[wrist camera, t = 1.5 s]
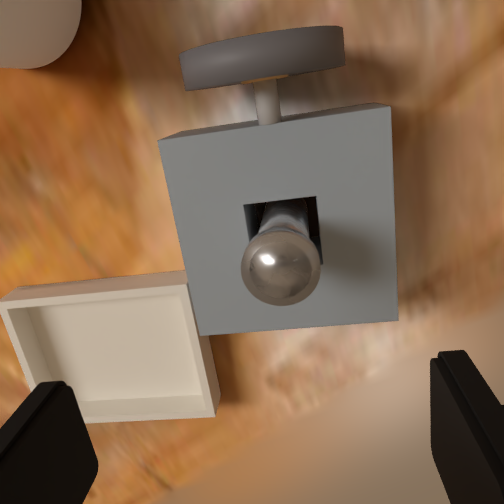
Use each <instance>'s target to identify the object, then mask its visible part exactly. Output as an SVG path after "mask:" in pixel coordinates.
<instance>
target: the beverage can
mask: <svg viewBox="0 0 504 504" xmlns="http://www.w3.org/2000/svg"><path fill="white" fill-rule="evenodd" d="M81 5H82V3H81V0H0V67H1V68H18V69H32V68H38V67H42V66H45V65H47V64H49V63H51V62H53V61H55V60H56V59H57V58H59V57H60V56H61V55H62V54H63V53H64V52H65V51H66V50H67V48H68V47H69V46H70V44H71V43H72V41H73V39H74V37H75V35H76V32H77V29H78V26H79V22H80V17H81Z"/></svg>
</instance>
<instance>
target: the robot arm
mask: <svg viewBox="0 0 504 504" xmlns="http://www.w3.org/2000/svg"><path fill="white" fill-rule="evenodd" d="M430 396H431V397H430V403H431V404H430V406H431V450H432V455H433V458H434V461H435V464H436V467H437V469H438V472H439V474H440V477H441V480H442V482H443V485H444V487H445V490H446V493H447V495H448V498H449V500H450V503H451V504H504V405H501V404H500V402H499V401H498V399H497V398H496V397H495V395H494V394H493V392H492V390H491V389H490V387H489V386H488V384H487V383H486V381H485V380H484V378H483V377H482V375H481V374H480V372H479V371H478V369H477V368H476V366H475V365H474V363H473V362H472V360H471V359H470V357H469V356H468V354H467V353H466V352H465V351H464V350H455V351H443V352H439V353H438V358H432V359H431V361H430ZM97 472H98V460H97V457H96V454H95V451H94V448H93V446H92V443H91V440H90V437H89V434H88V431H87V428H86V426H85V423H84V420H83V417H82V414H81V411H80V409H79V406H78V403H77V400H76V397H75V394H74V391H73V389H72V387H71V386H67V384H66V383H65V382H64V381H48V382H41V383H39V384H38V385H37V386H36V387H35V388H34V390H33V391H32V392H31V393H30V394H29V396H28V397H27V398H26V399H25V400H24V401H23V403H22V404H21V405H20V406H19V407H18V408H17V410H16V411H15V412H14V413H13V414H12V416H11V417H10V418H9V419H8V420H7V421H6V423H5V424H4V425H3V426H2V427H1V429H0V504H83V502H84V500H85V498H86V496H87V494H88V492H89V490H90V488H91V486H92V484H93V482H94V480H95V478H96V475H97Z"/></svg>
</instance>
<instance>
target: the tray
mask: <svg viewBox="0 0 504 504" xmlns="http://www.w3.org/2000/svg"><path fill="white" fill-rule="evenodd" d="M0 314H1V316H2V319H3V321H4V324H5V326H6V329H7V331H8V334H9V337H10V339H11V342H12V344H13V347H14V349H15V352H16V354H17V357H18V360H19V362H20V365H21V367H22V370H23V372H24V375H25V377H26V380H27V382H28V385H29V388H30V390H31V392H32V391H33V390H34V388H35V387H36V386H37V385H38V384H39V383H41V382H48V381H64V382H65V383H66V384H67V386H71V387H72V389H73V391H74V394H75V397H76V400H77V403H78V406H79V409H80V411H81V414H82V417H83V420H84V423H102V422H122V421H143V420H163V419H184V418H205V417H216V413H217V409H218V405H219V401H220V397H221V392H220V388H219V383H218V378H217V373H216V369H215V364H214V359H213V354H212V350H211V345H210V340H209V335H206V336H200V334H199V329H198V325H197V320H196V316H195V311H194V306H193V302H192V297H191V293H190V288H189V283H188V279H187V274H186V270H183V271H173V272H163V273H153V274H143V275H133V276H123V277H113V278H103V279H93V280H83V281H73V282H63V283H53V284H43V285H33V286H23V287H17V288H15V289H14V290H13V291H11V292H10V293H8V294H7V295H6V296H4V297H3V298H1V299H0Z"/></svg>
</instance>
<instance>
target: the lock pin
mask: <svg viewBox="0 0 504 504" xmlns="http://www.w3.org/2000/svg"><path fill="white" fill-rule="evenodd" d="M320 274H321V266H320V258H319V254H318V251H317V249H316V247H315V245H314V244H313V242H312V241H311V240H310V239H309V225H308V211H307V205H306V202H305V200H304V199H303V197H302V198H294V199H286V200H277V201H269V202H267V204H266V207H265V210H264V214H263V218H262V221H261V225H260V229H259V232H258V234H257V235H256V236H255V237H253V239H252V240H251V241H250V242H249V243H248V245H247V247H246V249H245V252H244V255H243V258H242V261H241V276H242V280H243V282H244V284H245V286H246V288H247V289H248V291H249V292H250V293H251V294H252V295H253V296H254V297H256V298H257V299H259V300H260V301H262V302H264V303H267V304H270V305H274V306H288V305H293V304H296V303H299V302H301V301H302V300H304V299H306V298H307V297H308V296H309V295H310V294H311V293H312V292H313V291H314V290H315V288H316V286H317V284H318V282H319V279H320Z"/></svg>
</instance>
